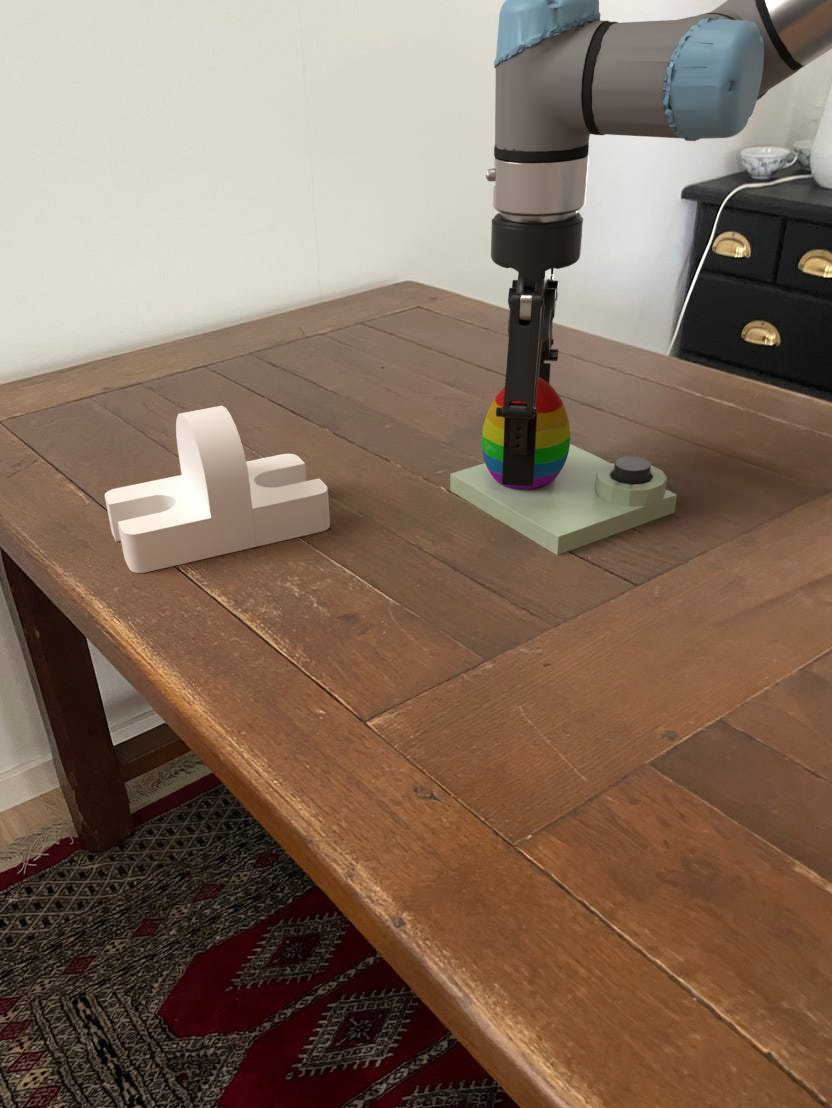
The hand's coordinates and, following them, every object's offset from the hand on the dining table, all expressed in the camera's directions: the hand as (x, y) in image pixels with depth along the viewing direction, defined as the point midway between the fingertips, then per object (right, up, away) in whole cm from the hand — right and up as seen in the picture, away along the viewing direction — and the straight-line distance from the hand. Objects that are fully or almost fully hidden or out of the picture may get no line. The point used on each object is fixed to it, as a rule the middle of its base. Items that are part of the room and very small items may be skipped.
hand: (525, 454), depth 96 cm
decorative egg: (0, -2, +1) cm, 3 cm away
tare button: (+9, -3, -3) cm, 10 cm away
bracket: (-29, -7, 0) cm, 30 cm away
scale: (+3, -4, +1) cm, 6 cm away
